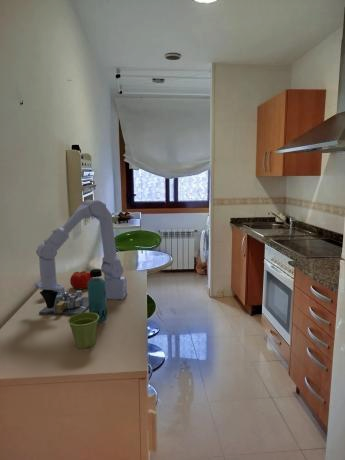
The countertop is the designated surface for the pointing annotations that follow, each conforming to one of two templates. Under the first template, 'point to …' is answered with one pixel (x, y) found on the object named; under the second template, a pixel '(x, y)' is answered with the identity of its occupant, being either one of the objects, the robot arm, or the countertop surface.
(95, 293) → the beverage bottle
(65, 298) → the housing
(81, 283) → the tomato
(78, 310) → the flange plate
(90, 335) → the plant pot
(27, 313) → the countertop surface
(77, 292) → the grey block ring
